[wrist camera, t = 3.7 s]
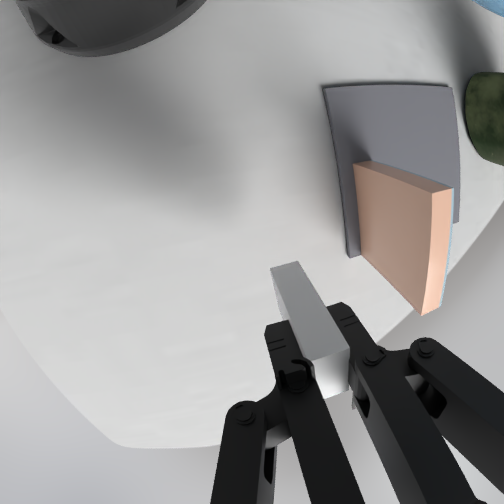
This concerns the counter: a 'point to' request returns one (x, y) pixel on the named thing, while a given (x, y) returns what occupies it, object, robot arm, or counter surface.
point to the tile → (405, 230)
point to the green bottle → (486, 115)
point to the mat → (393, 138)
